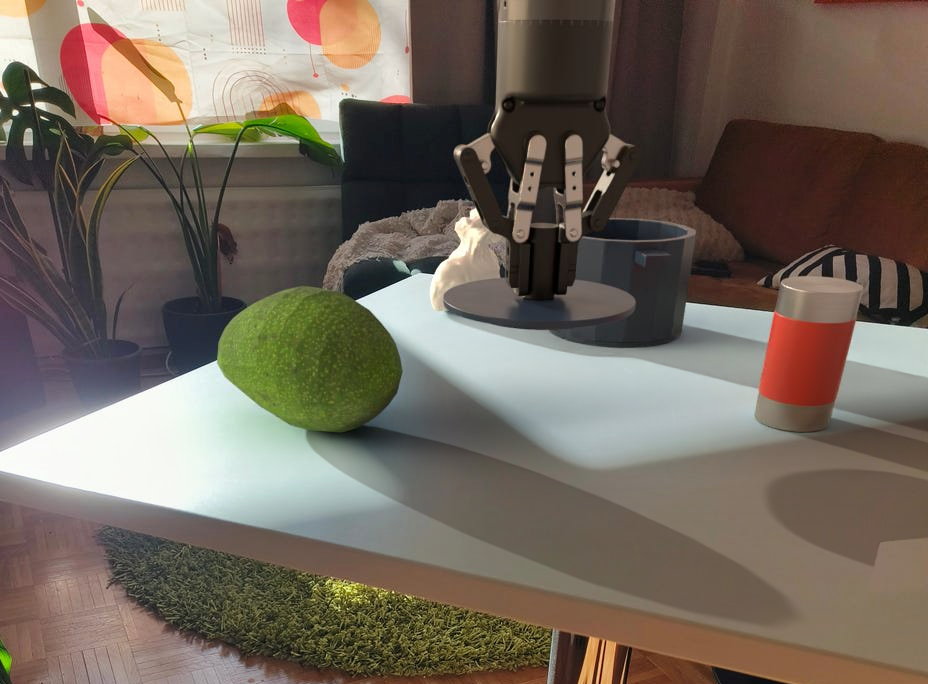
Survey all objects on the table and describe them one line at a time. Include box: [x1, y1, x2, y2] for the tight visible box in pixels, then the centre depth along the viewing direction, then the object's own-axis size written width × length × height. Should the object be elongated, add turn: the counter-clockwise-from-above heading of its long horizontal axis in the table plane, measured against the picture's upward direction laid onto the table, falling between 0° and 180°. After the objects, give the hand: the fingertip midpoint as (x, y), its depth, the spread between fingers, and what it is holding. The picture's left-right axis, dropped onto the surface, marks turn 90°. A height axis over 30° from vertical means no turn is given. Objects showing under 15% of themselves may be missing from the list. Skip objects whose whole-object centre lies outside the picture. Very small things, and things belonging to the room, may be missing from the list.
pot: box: [548, 217, 697, 348], centre depth 89 cm, size 14×19×9 cm
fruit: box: [216, 285, 404, 433], centre depth 65 cm, size 15×10×10 cm, turn 53°
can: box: [753, 275, 864, 433], centre depth 67 cm, size 6×6×10 cm
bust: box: [429, 207, 504, 312], centre depth 96 cm, size 12×8×11 cm
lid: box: [443, 222, 636, 331], centre depth 67 cm, size 15×15×6 cm
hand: (539, 292), depth 68 cm, fingers closed on lid, 2 cm apart
